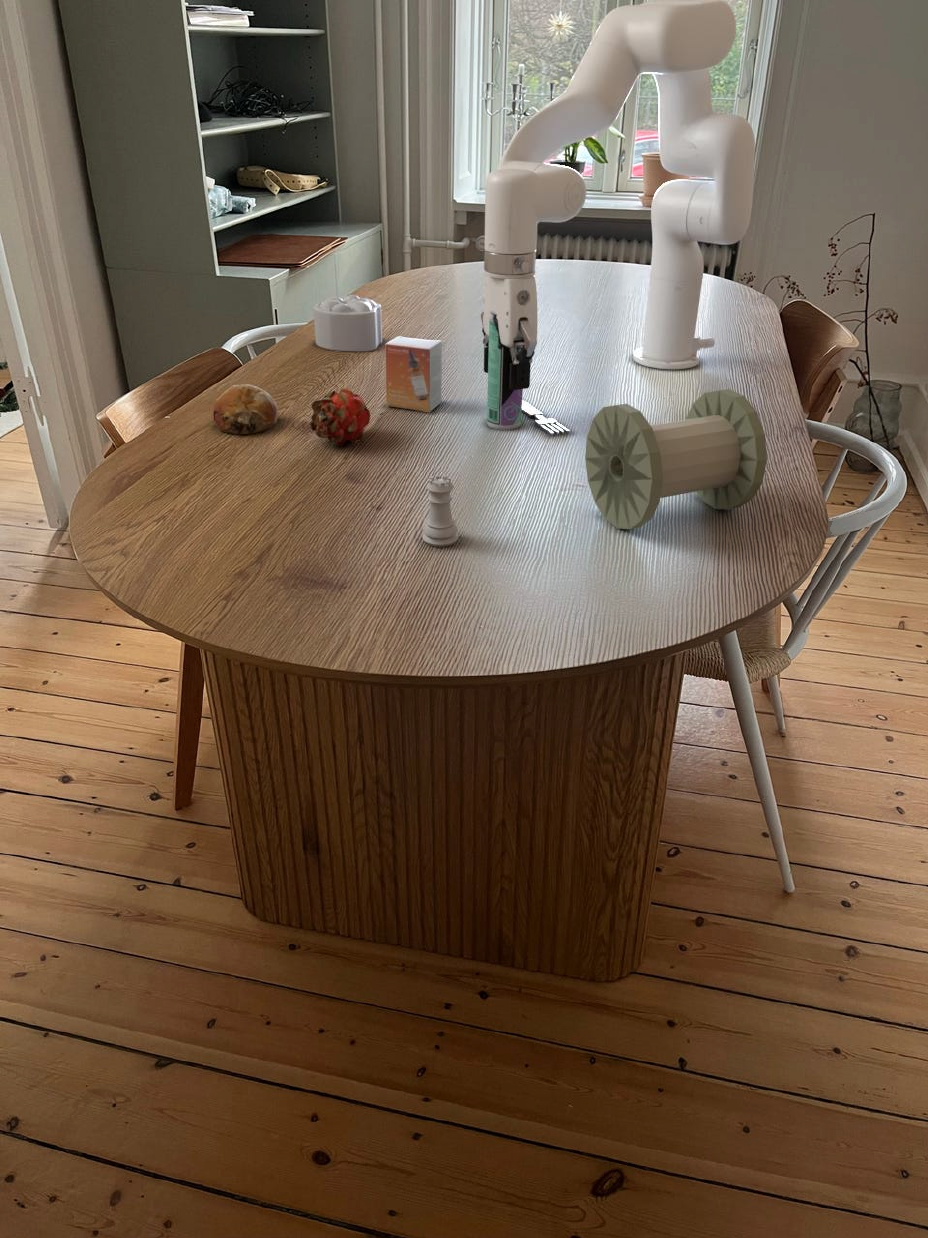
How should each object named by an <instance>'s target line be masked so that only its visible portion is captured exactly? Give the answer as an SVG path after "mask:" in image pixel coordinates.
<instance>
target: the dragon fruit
mask: <svg viewBox="0 0 928 1238" xmlns="http://www.w3.org/2000/svg"><path fill="white" fill-rule="evenodd" d="M311 409H312V411H313V413H312V415H311V416H310V418H311V422H310V423H309V426H310V430H311V431H315V434H316V436H317V437H318V438H322V439H327V440H328V442H329V444H332V445H335V446H337V447H342V446H343V445H344V444H345V443H346V442H347V441H350V442H352V443H355V442H357V441H358V443H360V442H361V441H362V440H363V439H364V433H363V431H364V430H365V428H366V427H367V426H368V425H369V424H370V420H371V411H370V410H369V408H368V406H366V403H365V401H364V400H363V398H362V397H361V396H360V395H359V393H356V392H354V393H353V390H351V389H349V388H345V387H344V388H342V389H340V390H339V391H338V392H337V391H336V390H333V391H330V392H329V393H327V394H325V395H324V397H323V398H322V399H317V400H314V401H313V402H311Z"/></svg>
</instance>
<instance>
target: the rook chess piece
mask: <svg viewBox="0 0 928 1238" xmlns="http://www.w3.org/2000/svg"><path fill="white" fill-rule="evenodd" d="M428 481H429V482H428V483H427V484H426V485H425V487H426V489H427V490H428V492H429V496H428V497H427V498H428V501H429V511H428V516H427V517H428V518H427V519H426V521H425V523H424V524H423V526H422V536H421V538H422V541H424V543H426V544H427V545H428V546H431V547H435V548H446V547H450V546H453V545H454V544H455V543H456V542H457V541H458V540H459V534H458V532H459V528H458V525H457V524H456V522H455V520H454V518H453V515H452V508H451V502H452V500H453V498H452V495H451V492H452V491H453V490H454V488H455V486H454V484H453V483H452V479H451V477H450V476H449V477H448V475H445V474H443V475H442V478H440V474H435V477H434V476H430V477H429V480H428Z"/></svg>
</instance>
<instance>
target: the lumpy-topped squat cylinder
mask: <svg viewBox="0 0 928 1238" xmlns="http://www.w3.org/2000/svg"><path fill="white" fill-rule="evenodd" d="M313 322H314V323H313V324H314V338H315V345H316V346H318V347H320V348H323V349H327V350H331V351H338V352H339V351H342V352H370V351H375V350H377V348H378V346H379V345H380V344H382V343H383V332H382V331H383V327H382V323H383V322H382V305H381V304H380V303H378V302H374V300H373V299H370V298H363V297H361V298H360V297H359V296H358V295H355V294H348V295H346V296H344V297H343V298H341V297H339V296H330V297H328V298H327V299H326V300H325V301H324V302H322V301H320V302H319V303H317V304H315V305H314V306H313Z"/></svg>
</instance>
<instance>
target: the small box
mask: <svg viewBox="0 0 928 1238" xmlns="http://www.w3.org/2000/svg"><path fill="white" fill-rule="evenodd" d="M384 362H385V364H384V365H385V367H384V368H385V405H386V407H393V408H400V409H406V410H413V411H419V412H422V413H423V412H424V413H431V412H432V411H433V410H434V409H436V408H437V407H438V406H439V405H440V404H441V403H443V402H442V398H443V397H442V396H443V395H442V393H443V389H442V388H443V386H442V385H443V341H442V340H438V339H437V340H435V339H426V338H425V339H424V338H414V337H405V336H401V335H398V336H396V337H394V338H393V339H391V340H389V341H388V342H386V343H385V345H384Z"/></svg>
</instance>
